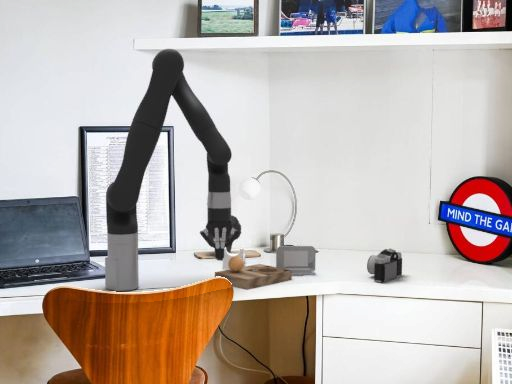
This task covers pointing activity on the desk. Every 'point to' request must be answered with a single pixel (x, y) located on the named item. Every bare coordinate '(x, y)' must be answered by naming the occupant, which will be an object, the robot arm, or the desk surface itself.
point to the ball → (235, 263)
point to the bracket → (230, 255)
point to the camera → (385, 265)
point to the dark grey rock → (236, 226)
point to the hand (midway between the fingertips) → (219, 259)
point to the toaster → (296, 259)
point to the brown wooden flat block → (256, 276)
